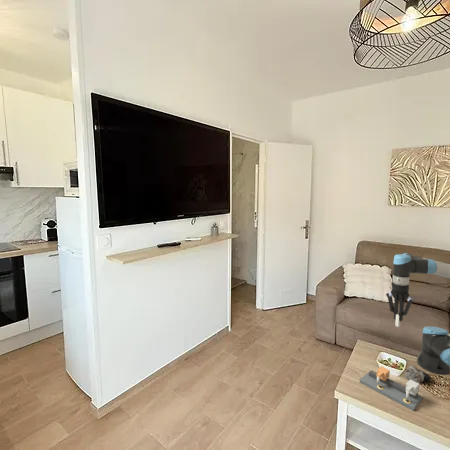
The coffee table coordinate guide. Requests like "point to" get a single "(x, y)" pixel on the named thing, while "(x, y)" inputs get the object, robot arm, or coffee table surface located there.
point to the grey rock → (416, 375)
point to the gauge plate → (394, 390)
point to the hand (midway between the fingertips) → (397, 325)
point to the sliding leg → (382, 374)
